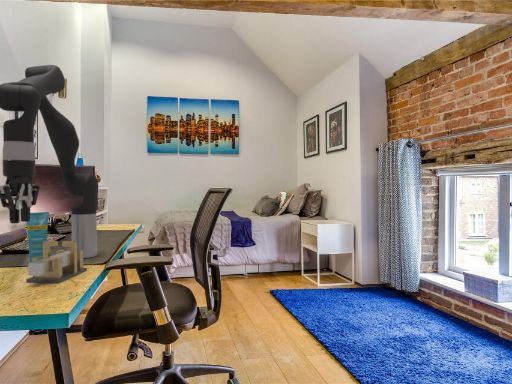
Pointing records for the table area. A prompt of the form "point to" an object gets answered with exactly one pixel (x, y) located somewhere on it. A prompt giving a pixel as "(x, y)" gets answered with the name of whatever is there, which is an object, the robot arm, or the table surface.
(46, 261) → the rod
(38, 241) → the tube
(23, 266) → the table surface
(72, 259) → the bridge
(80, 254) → the tan bracket pieces
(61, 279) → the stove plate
